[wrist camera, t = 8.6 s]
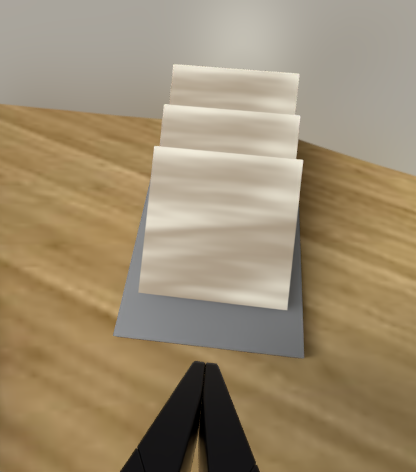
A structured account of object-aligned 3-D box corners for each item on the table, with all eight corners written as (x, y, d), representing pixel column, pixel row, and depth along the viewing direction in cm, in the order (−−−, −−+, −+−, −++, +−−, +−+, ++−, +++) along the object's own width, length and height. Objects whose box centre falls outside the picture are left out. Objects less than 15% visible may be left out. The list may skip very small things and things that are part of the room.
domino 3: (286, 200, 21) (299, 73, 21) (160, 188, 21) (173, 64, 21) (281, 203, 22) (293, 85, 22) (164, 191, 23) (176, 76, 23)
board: (299, 358, 19) (304, 358, 18) (117, 336, 19) (113, 335, 18) (294, 172, 25) (297, 166, 24) (158, 160, 26) (156, 153, 25)
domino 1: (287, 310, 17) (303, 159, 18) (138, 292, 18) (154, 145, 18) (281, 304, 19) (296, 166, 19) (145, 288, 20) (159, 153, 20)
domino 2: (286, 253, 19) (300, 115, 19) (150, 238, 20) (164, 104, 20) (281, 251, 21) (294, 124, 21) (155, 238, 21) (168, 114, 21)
